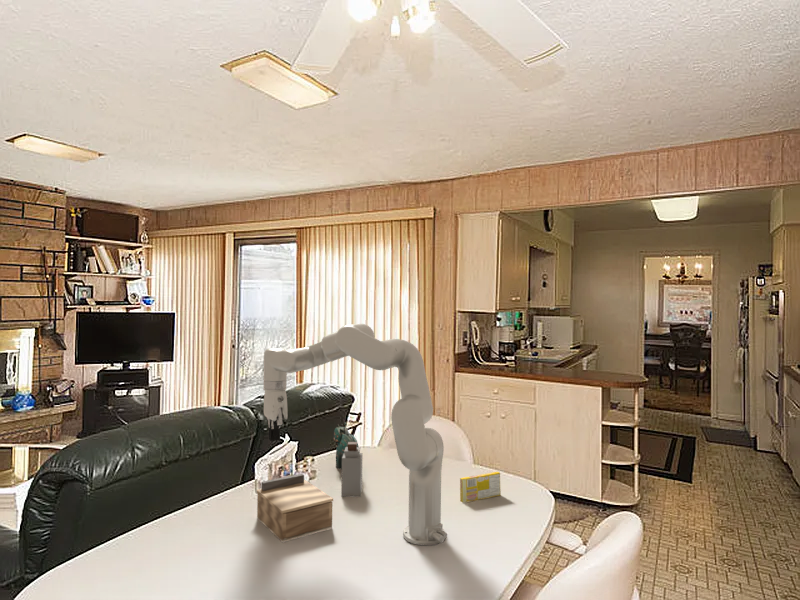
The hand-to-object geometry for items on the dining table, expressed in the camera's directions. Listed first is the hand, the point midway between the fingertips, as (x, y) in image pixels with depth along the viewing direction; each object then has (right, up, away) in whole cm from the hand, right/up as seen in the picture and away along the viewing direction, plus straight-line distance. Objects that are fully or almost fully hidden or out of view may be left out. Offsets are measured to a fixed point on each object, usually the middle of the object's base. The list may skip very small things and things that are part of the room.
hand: (274, 439), depth 175 cm
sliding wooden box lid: (+9, -14, -13) cm, 21 cm away
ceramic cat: (+21, -23, +35) cm, 47 cm away
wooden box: (+9, -23, -13) cm, 28 cm away
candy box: (+71, -24, +9) cm, 75 cm away
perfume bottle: (+25, -23, +13) cm, 36 cm away
